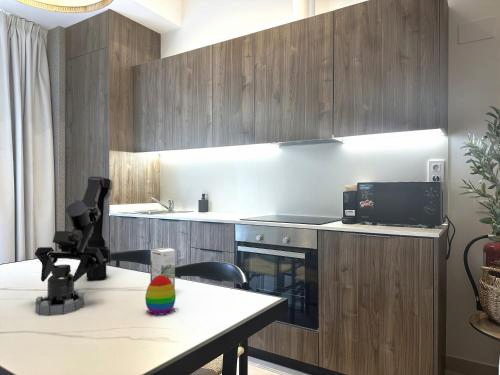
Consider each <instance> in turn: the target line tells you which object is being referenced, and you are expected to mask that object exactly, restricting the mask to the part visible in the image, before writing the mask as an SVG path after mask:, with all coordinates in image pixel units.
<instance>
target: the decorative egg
mask: <svg viewBox="0 0 500 375" xmlns="http://www.w3.org/2000/svg"><path fill="white" fill-rule="evenodd" d="M176 294H177V293H176V289H174V286H173V284H172V282H171V281H170V280H169V278H167V277H166V276H164V275H159V276H156V277H155V278H154V279H153V280H152V281H151V282H149V284H148V286H147V288H146V292H145V298H144V299H145V304H146V307H147V310H148V311H149V312H150V313H151V314H153V315H163V314H168V313H169V312H171V310H172V309H173V308H174V306H175V304H176V299H177V298H176V296H177V295H176Z"/></svg>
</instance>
